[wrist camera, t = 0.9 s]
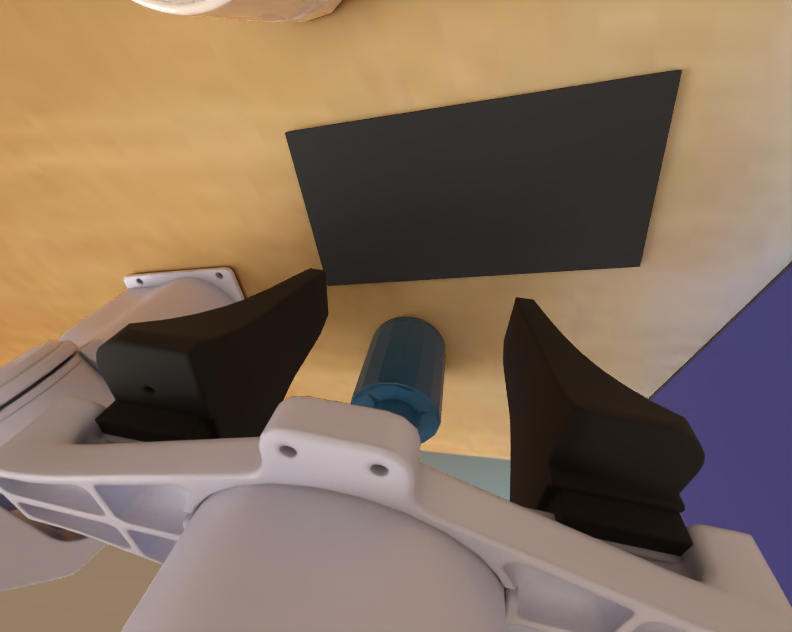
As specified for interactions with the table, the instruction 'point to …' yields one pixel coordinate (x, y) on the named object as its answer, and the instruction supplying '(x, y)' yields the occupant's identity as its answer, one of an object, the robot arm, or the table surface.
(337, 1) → the white cup
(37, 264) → the table surface
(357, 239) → the mat
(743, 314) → the cereal box
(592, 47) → the table surface
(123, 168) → the table surface
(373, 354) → the bottle
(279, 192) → the table surface
